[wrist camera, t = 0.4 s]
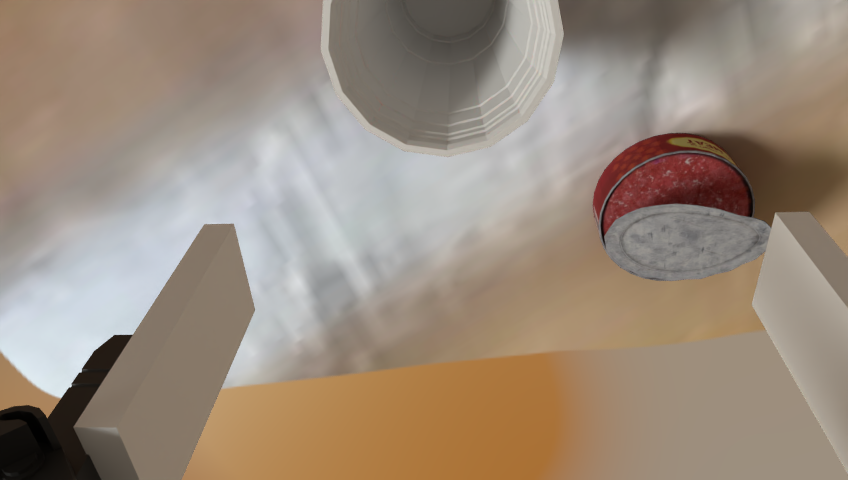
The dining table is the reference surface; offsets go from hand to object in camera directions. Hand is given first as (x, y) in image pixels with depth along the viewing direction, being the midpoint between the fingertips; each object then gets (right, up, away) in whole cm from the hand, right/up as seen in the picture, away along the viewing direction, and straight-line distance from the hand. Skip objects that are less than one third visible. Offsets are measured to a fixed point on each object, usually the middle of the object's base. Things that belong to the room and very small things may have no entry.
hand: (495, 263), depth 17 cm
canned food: (+15, +4, +30) cm, 33 cm away
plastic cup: (0, +16, +23) cm, 28 cm away
